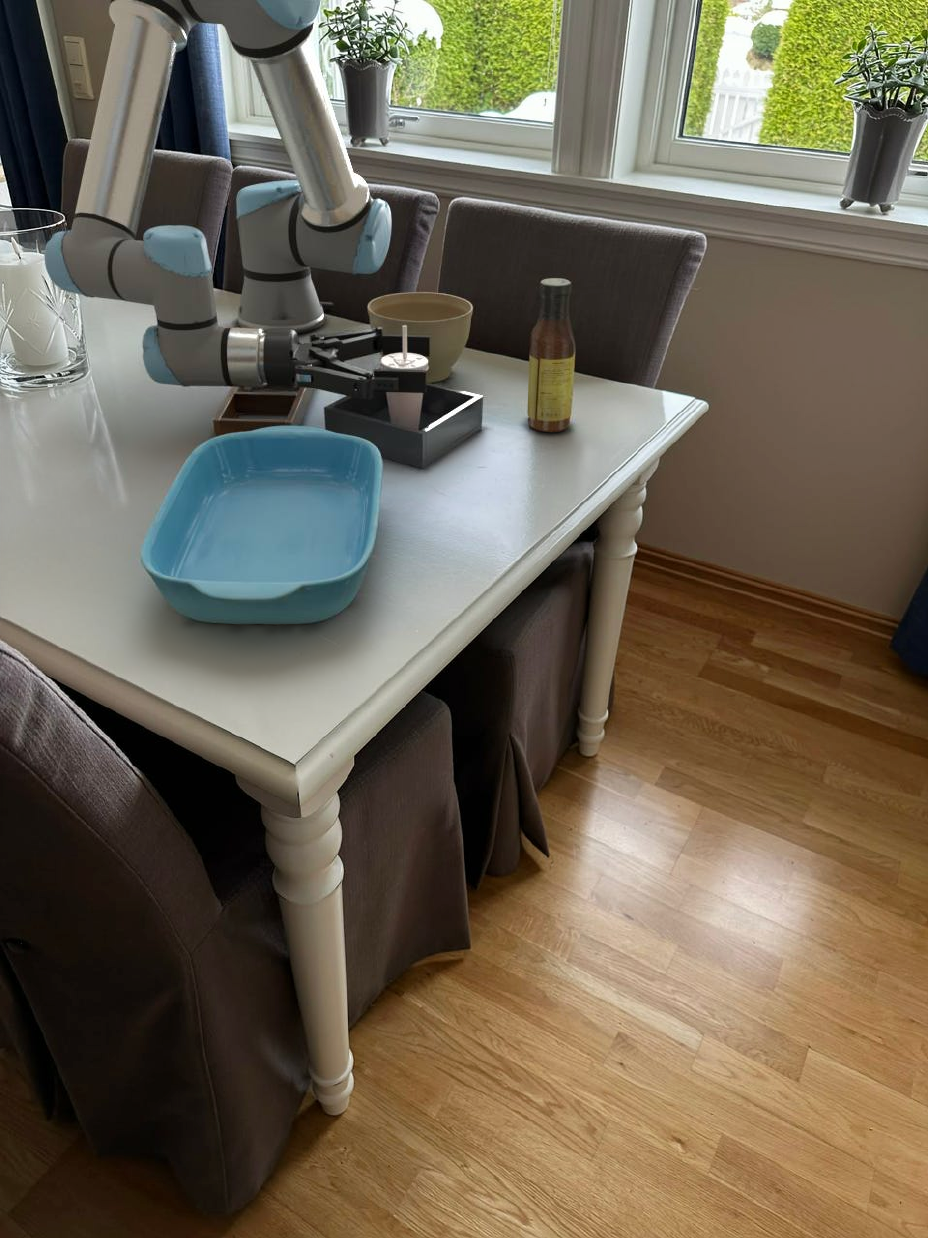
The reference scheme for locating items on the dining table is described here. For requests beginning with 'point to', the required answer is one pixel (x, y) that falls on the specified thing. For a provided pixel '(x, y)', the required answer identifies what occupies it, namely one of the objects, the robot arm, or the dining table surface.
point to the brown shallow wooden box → (260, 409)
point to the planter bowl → (426, 324)
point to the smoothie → (404, 404)
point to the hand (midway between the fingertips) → (428, 362)
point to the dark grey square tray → (439, 431)
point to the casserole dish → (267, 526)
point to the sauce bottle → (551, 360)
